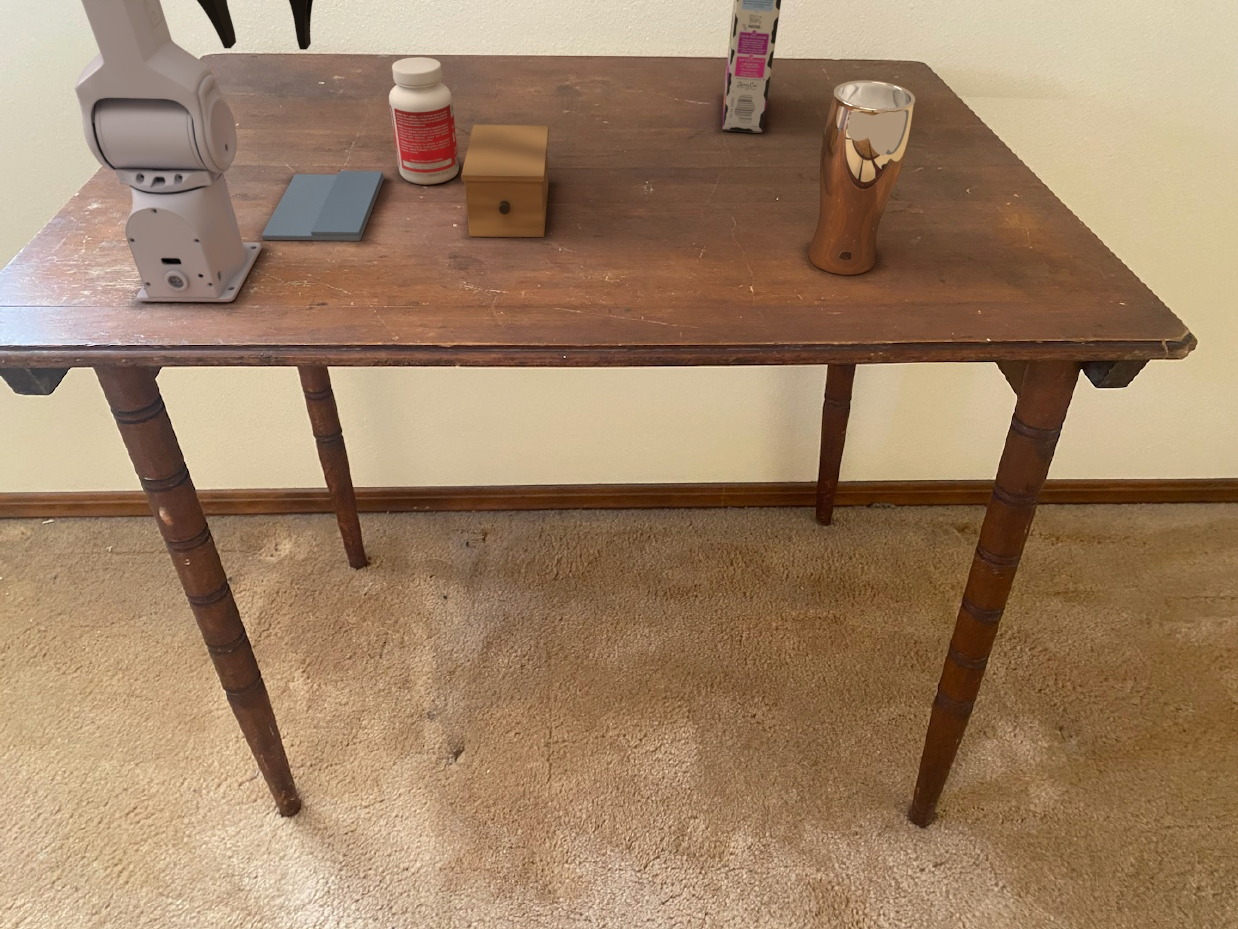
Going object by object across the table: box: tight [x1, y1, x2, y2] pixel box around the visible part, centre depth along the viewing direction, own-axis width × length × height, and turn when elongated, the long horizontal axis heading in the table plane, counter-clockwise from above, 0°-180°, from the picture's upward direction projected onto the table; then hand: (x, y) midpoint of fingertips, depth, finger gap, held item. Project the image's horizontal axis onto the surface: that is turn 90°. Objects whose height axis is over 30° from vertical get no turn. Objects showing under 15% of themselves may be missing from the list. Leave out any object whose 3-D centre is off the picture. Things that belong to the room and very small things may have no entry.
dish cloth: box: [261, 170, 385, 242], centre depth 91 cm, size 13×9×1 cm
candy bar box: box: [721, 0, 782, 134], centre depth 105 cm, size 11×5×16 cm, turn 175°
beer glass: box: [807, 79, 916, 276], centre depth 81 cm, size 7×7×15 cm
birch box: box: [460, 124, 550, 238], centre depth 89 cm, size 12×7×6 cm, turn 1°
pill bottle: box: [388, 56, 460, 185], centre depth 94 cm, size 6×6×11 cm
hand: (267, 45), depth 96 cm, fingers open, 7 cm apart
